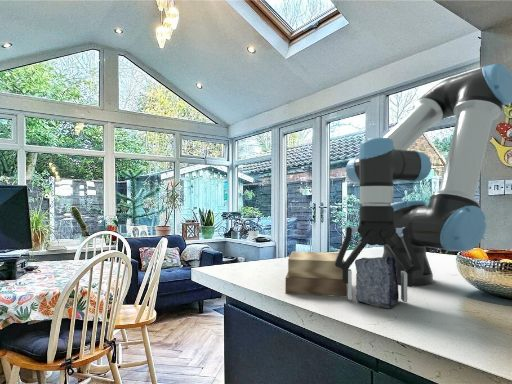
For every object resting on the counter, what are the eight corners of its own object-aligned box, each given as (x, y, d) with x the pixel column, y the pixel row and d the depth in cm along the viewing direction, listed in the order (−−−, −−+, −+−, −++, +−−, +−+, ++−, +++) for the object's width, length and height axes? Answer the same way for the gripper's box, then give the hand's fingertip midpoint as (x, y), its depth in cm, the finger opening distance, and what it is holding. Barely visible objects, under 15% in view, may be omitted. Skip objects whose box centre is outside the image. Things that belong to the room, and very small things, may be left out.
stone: (408, 310, 80) (398, 307, 72) (365, 311, 85) (351, 308, 77) (400, 258, 84) (390, 250, 76) (360, 262, 89) (347, 255, 82)
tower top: (340, 268, 100) (340, 252, 100) (344, 279, 86) (344, 261, 86) (291, 266, 102) (292, 251, 102) (288, 277, 88) (288, 259, 88)
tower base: (342, 284, 99) (342, 268, 100) (346, 299, 85) (346, 280, 85) (290, 281, 102) (290, 266, 102) (285, 295, 87) (285, 277, 87)
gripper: (426, 205, 82) (426, 297, 82) (324, 204, 87) (324, 292, 86) (436, 205, 75) (437, 307, 74) (324, 204, 79) (324, 300, 79)
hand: (376, 299), depth 80 cm, fingers open, 11 cm apart
